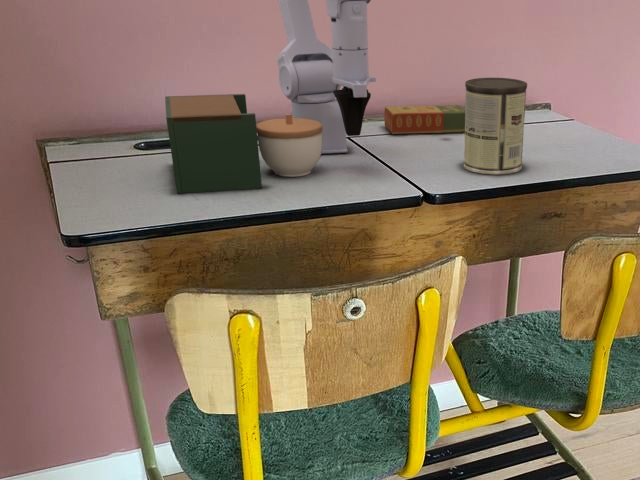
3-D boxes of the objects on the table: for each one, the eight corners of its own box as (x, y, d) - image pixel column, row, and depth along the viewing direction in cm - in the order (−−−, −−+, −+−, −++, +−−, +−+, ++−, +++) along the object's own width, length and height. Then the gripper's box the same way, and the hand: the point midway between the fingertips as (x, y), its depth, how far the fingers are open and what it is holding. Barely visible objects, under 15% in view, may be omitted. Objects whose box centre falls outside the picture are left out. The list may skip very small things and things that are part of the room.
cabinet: (251, 161, 142) (244, 93, 137) (262, 188, 128) (255, 114, 123) (174, 165, 139) (164, 96, 133) (177, 193, 125) (166, 117, 119)
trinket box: (312, 182, 131) (308, 123, 127) (249, 178, 133) (243, 118, 129) (333, 166, 141) (330, 110, 136) (274, 161, 142) (270, 106, 138)
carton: (384, 126, 169) (383, 105, 167) (458, 124, 173) (459, 103, 171) (392, 135, 162) (392, 113, 160) (469, 132, 166) (470, 110, 164)
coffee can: (472, 157, 148) (475, 75, 141) (528, 163, 145) (533, 79, 138) (454, 171, 139) (457, 84, 133) (513, 177, 137) (518, 89, 130)
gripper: (385, 53, 125) (386, 143, 132) (364, 42, 137) (367, 124, 144) (339, 54, 123) (343, 145, 130) (323, 42, 135) (327, 126, 142)
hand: (353, 135), depth 137 cm, fingers closed
